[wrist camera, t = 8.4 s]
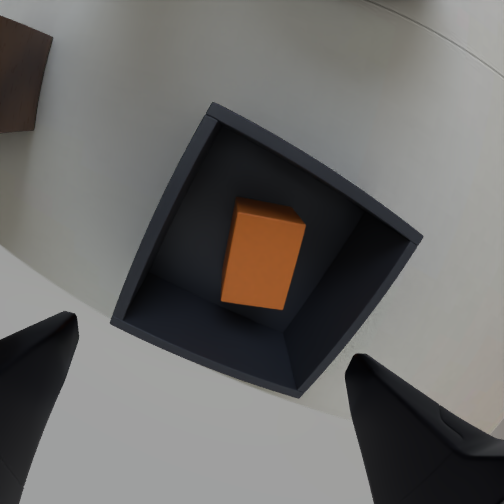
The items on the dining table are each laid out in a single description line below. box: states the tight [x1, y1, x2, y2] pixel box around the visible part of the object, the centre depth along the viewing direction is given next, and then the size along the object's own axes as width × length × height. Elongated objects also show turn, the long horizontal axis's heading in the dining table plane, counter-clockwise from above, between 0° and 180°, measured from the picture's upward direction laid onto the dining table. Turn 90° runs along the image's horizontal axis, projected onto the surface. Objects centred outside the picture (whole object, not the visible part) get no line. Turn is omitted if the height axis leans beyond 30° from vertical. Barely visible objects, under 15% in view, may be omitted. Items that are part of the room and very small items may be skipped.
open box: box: [110, 102, 423, 398], centre depth 17 cm, size 12×12×7 cm
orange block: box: [221, 197, 306, 310], centre depth 18 cm, size 5×4×4 cm
